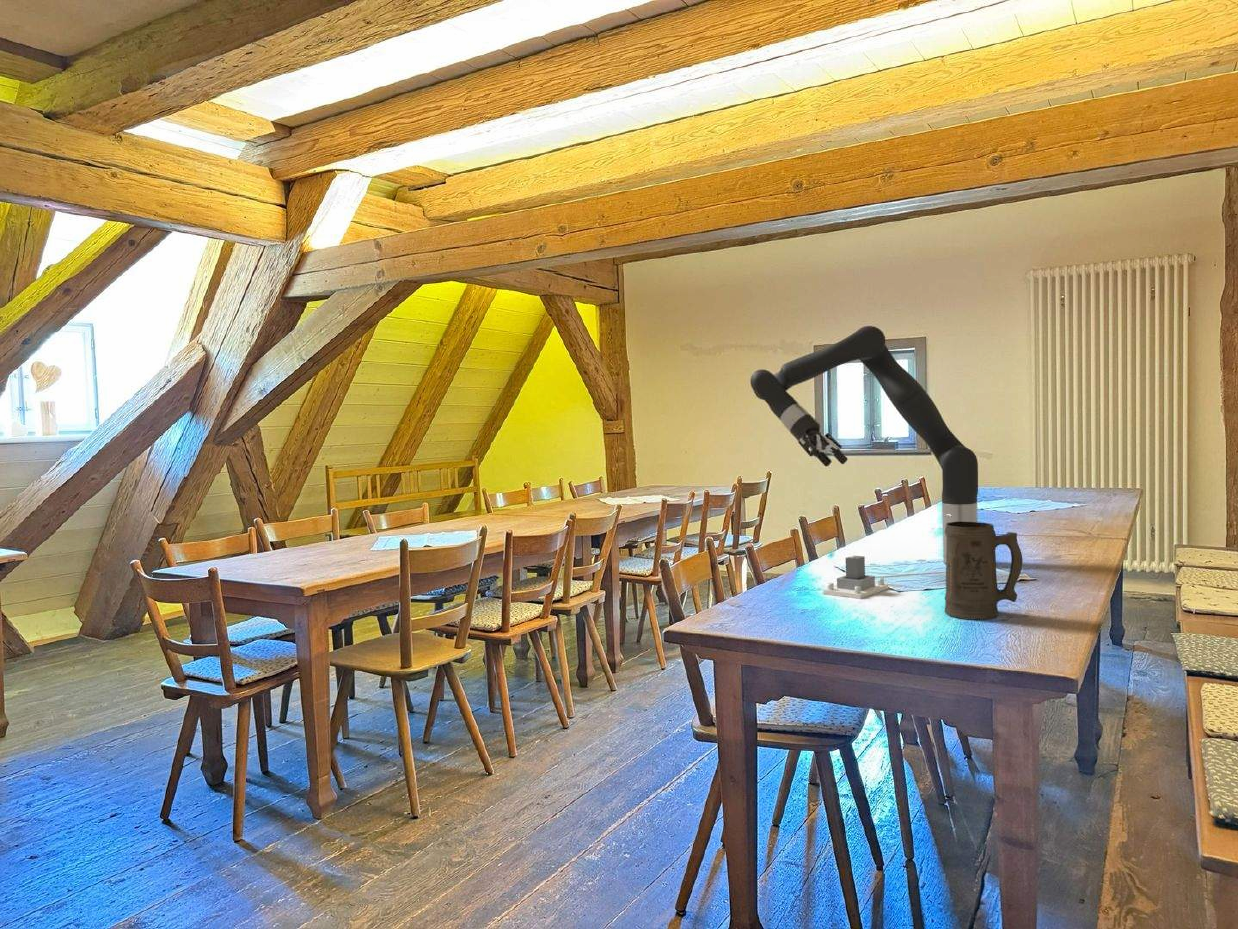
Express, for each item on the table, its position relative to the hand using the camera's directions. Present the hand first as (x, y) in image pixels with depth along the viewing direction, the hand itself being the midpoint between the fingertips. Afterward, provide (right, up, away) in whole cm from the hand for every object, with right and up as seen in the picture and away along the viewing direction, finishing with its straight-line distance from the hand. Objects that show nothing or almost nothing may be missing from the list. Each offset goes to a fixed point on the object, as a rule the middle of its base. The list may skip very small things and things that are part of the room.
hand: (837, 463), depth 232 cm
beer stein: (+18, -33, -51) cm, 63 cm away
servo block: (-1, -31, -23) cm, 39 cm away
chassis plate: (-1, -32, -23) cm, 40 cm away
